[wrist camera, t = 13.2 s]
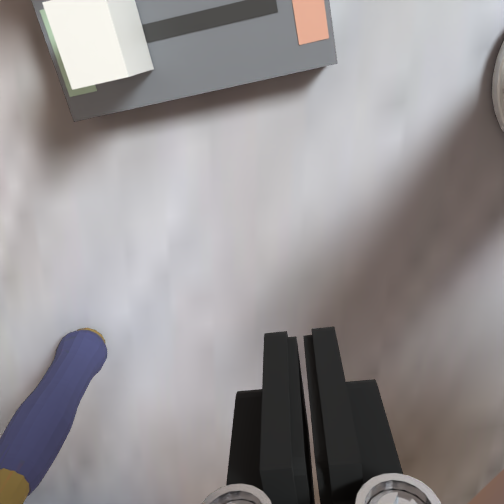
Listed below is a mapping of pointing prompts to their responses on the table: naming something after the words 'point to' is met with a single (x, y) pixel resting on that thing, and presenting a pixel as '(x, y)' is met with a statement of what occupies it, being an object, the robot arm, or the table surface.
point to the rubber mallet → (48, 415)
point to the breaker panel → (177, 47)
